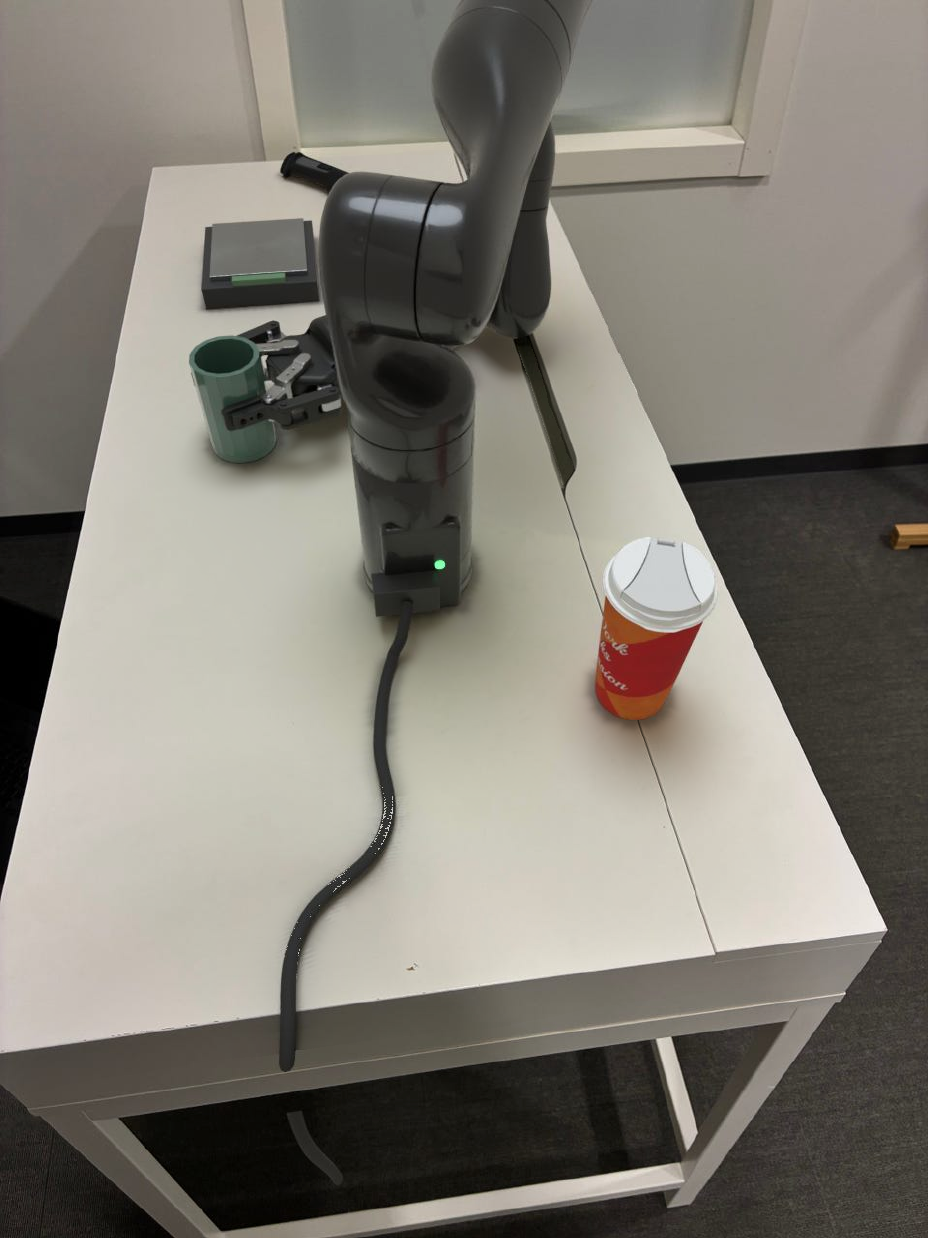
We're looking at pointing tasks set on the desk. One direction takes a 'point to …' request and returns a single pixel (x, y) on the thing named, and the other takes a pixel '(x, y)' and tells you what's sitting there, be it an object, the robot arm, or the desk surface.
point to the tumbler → (231, 395)
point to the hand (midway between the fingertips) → (209, 400)
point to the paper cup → (650, 622)
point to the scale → (259, 263)
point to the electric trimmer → (311, 170)
